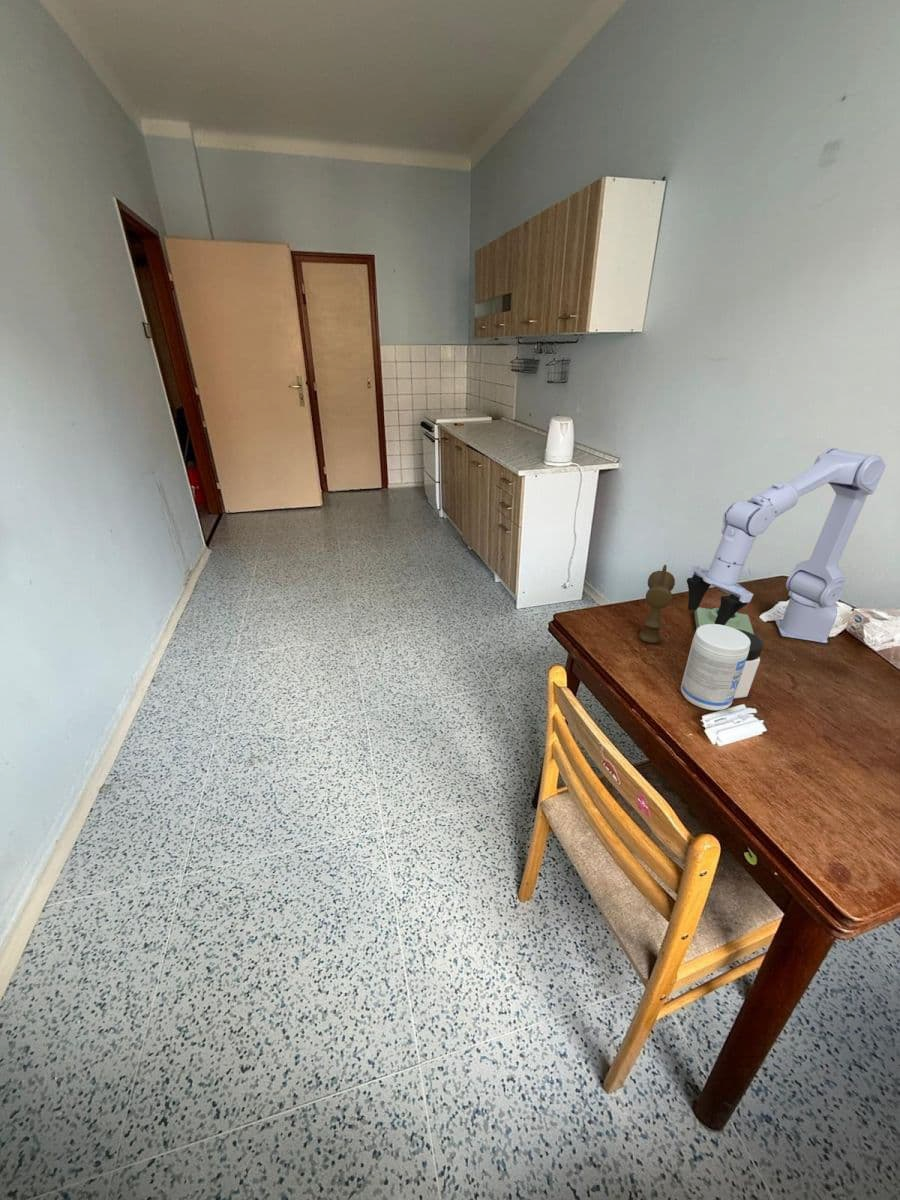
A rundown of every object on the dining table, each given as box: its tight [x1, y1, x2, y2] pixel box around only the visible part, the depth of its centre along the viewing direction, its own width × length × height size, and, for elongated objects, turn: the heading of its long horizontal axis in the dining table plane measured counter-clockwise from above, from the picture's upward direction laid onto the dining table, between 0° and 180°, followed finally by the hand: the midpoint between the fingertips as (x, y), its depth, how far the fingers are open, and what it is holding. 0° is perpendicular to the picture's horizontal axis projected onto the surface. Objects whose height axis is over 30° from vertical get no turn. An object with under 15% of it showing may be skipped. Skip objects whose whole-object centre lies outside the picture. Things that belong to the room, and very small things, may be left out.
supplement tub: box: [680, 624, 751, 711], centre depth 93 cm, size 10×10×15 cm
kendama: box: [638, 564, 676, 644], centre depth 111 cm, size 6×10×20 cm, turn 155°
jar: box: [734, 629, 764, 699], centre depth 96 cm, size 9×8×12 cm
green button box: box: [694, 606, 755, 635], centre depth 119 cm, size 12×10×4 cm
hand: (705, 617), depth 103 cm, fingers open, 7 cm apart
